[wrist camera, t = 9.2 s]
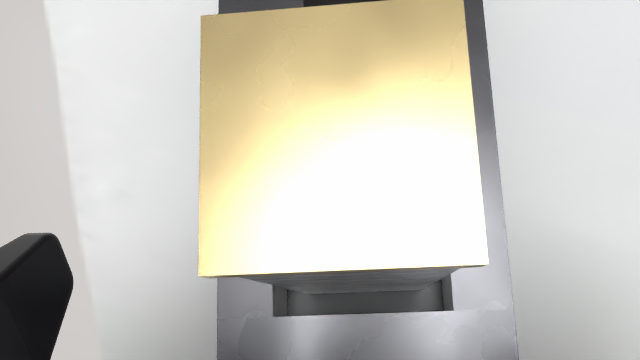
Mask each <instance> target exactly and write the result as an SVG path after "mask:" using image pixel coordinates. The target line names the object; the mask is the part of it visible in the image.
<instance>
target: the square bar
mask: <svg viewBox="0 0 640 360" xmlns="http://www.w3.org/2000/svg"><path fill="white" fill-rule="evenodd" d="M485 265H488V254H487V243H486V233H485V222H484V212H483V201H482V191H481V180H480V170H479V159H478V149H477V138H476V127H475V117H474V106H473V96H472V85H471V75H470V64H469V54H468V43H467V33H466V22H465V12H464V1H463V0H386V1H373V2H361V3H349V4H337V5H325V6H313V7H301V8H289V9H277V10H265V11H253V12H241V13H229V14H217V15H205V16H201V59H200V159H199V259H198V276H200V277H205V278H231V277H240V278H245V279H249V280H253V281H257V282H261V283H266V284H270V285H274V286H278V287H282V288H287V289H291V290H295V291H299V292H303V293H308V294H322V293H349V292H375V291H401V290H423V289H424V288H426V287H428V286H430V285H432V284H433V283H435V282H437V281H439V280H441V279H442V278H444V277H446V276H448V275H450V274H451V273H453V272H455V271H457V270H459V269H460V268H473V267H483V266H485Z"/></svg>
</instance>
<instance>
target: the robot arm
mask: <svg viewBox="0 0 640 360" xmlns="http://www.w3.org/2000/svg"><path fill="white" fill-rule="evenodd" d="M72 290H73V276H72V272H71V270H70V267H69V264H68V262H67V259H66V257H65V254H64V252H63V249H62V247H61V244H60V242H59V240H58V238H57V237H56V236H55V235H54V234H52V233H28V234H24V235H22V236H20V237H18V238H17V239H15V240H13V241H11V242H10V243H8V244H6V245H4V246H2V247H0V360H50V359H51V355H52V352H53V349H54V346H55V343H56V340H57V337H58V334H59V331H60V327H61V324H62V321H63V318H64V315H65V312H66V309H67V305H68V303H69V300H70V297H71V293H72Z"/></svg>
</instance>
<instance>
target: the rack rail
mask: <svg viewBox="0 0 640 360" xmlns="http://www.w3.org/2000/svg"><path fill="white" fill-rule="evenodd" d="M373 1H386V0H219V14H229V13H241V12H253V11H265V10H277V9H289V8H301V7H313V6H325V5H337V4H349V3H361V2H373ZM463 1H464V12H465V22H466V33H467V43H468V54H469V64H470V75H471V85H472V96H473V106H474V117H475V127H476V138H477V149H478V159H479V170H480V180H481V191H482V201H483V212H484V222H485V233H486V243H487V254H488V265H485V266H483V267H473V268H460V269H459V270H457V271H455V272H453V273H451V274H450V275H448V276H446V277H444V278H442V293H443V306H444V311H427V312H397V313H367V314H337V315H307V316H288V299H287V288H282V287H278V286H274V285H270V284H266V283H261V282H257V281H253V280H249V279H245V278H240V277H231V278H218V284H217V360H519V358H518V348H517V338H516V328H515V318H514V308H513V298H512V288H511V278H510V268H509V259H508V249H507V239H506V229H505V219H504V209H503V199H502V189H501V179H500V169H499V159H498V150H497V140H496V130H495V120H494V110H493V100H492V90H491V80H490V70H489V60H488V50H487V40H486V31H485V21H484V11H483V1H482V0H463Z"/></svg>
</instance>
